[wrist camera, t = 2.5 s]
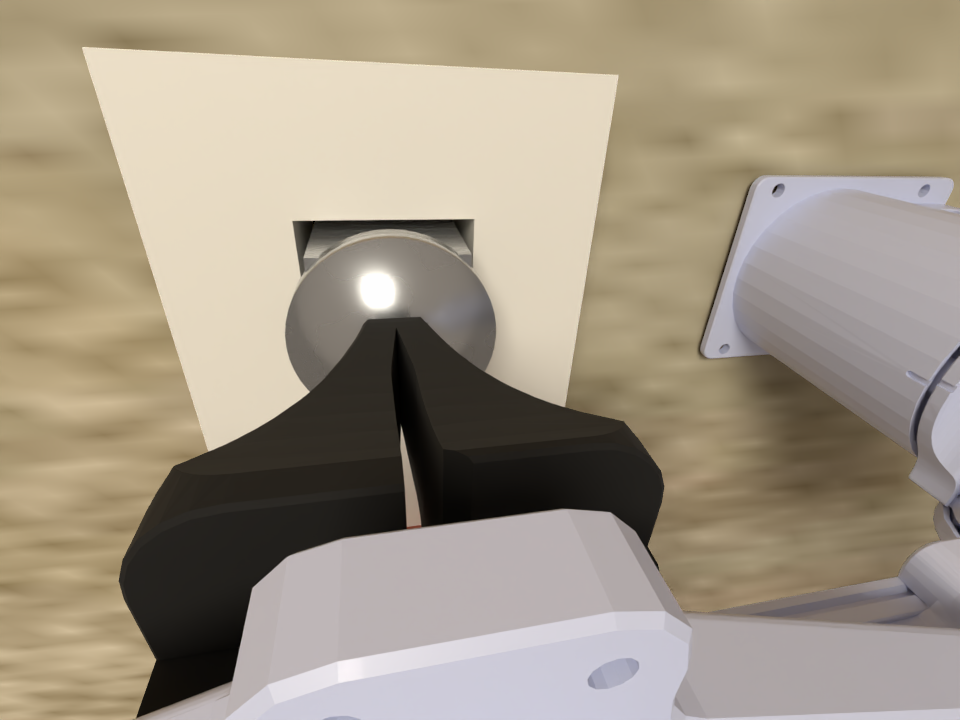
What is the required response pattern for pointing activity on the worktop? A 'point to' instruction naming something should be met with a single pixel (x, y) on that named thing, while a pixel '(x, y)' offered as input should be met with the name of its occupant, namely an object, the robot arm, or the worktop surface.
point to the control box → (350, 201)
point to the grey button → (385, 290)
